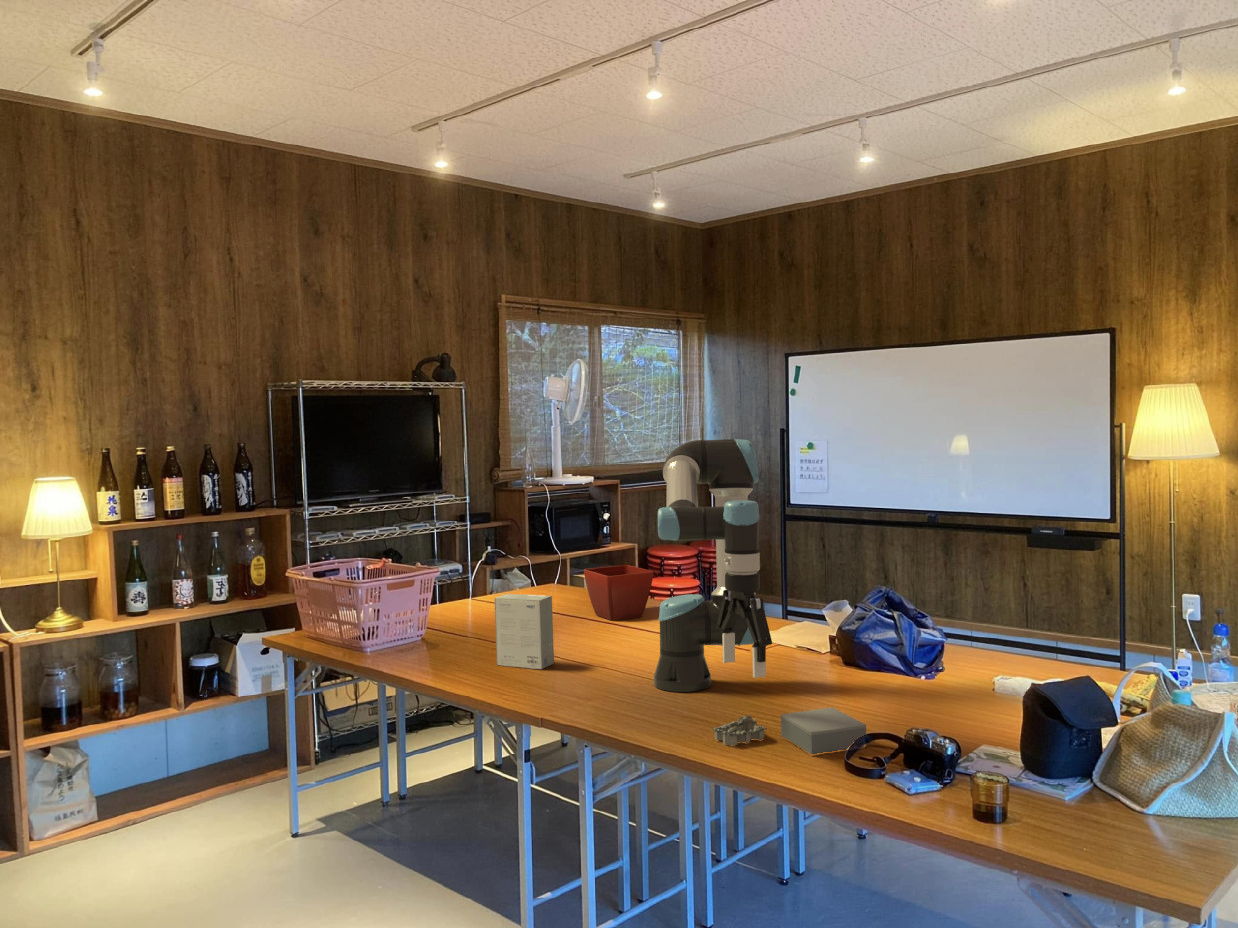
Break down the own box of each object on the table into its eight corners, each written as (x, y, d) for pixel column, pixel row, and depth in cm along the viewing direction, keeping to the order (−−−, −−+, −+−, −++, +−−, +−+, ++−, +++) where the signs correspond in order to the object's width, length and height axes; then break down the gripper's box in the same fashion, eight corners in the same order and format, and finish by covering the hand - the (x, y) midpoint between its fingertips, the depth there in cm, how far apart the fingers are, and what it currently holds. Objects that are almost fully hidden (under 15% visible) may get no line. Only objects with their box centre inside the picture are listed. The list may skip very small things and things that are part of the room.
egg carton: (752, 731, 209) (751, 713, 209) (770, 741, 202) (769, 723, 202) (709, 738, 205) (709, 720, 205) (726, 749, 198) (726, 730, 198)
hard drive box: (555, 663, 272) (553, 595, 271) (542, 670, 265) (540, 600, 264) (509, 659, 278) (507, 592, 277) (495, 665, 271) (493, 597, 270)
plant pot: (655, 617, 334) (654, 570, 333) (609, 624, 324) (608, 576, 324) (628, 609, 351) (627, 564, 350) (583, 615, 341) (582, 569, 340)
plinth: (781, 736, 204) (780, 714, 204) (833, 729, 209) (832, 707, 208) (811, 756, 192) (811, 732, 192) (866, 748, 196) (866, 724, 196)
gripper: (701, 565, 213) (702, 658, 214) (755, 581, 190) (757, 685, 190) (730, 563, 216) (731, 654, 216) (787, 578, 192) (789, 680, 193)
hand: (743, 669), depth 203 cm, fingers open, 13 cm apart
